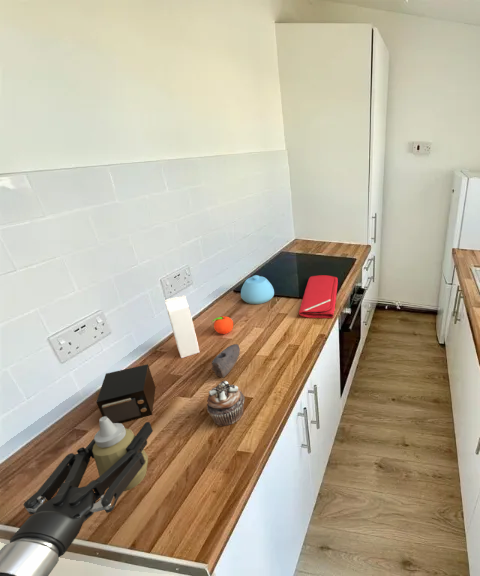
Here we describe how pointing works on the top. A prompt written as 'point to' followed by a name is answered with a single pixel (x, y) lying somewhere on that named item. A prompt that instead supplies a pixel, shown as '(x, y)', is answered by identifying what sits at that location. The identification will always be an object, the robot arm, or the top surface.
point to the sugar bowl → (257, 290)
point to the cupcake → (225, 404)
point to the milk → (182, 326)
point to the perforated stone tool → (225, 360)
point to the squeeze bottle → (114, 448)
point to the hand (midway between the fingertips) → (132, 426)
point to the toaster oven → (127, 394)
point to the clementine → (223, 324)
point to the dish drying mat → (319, 297)
